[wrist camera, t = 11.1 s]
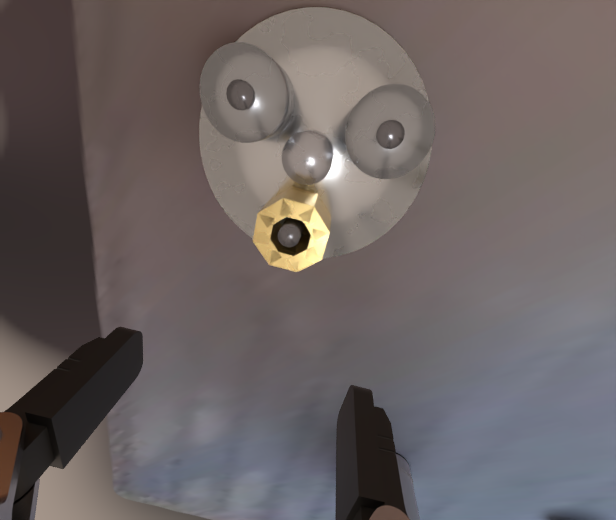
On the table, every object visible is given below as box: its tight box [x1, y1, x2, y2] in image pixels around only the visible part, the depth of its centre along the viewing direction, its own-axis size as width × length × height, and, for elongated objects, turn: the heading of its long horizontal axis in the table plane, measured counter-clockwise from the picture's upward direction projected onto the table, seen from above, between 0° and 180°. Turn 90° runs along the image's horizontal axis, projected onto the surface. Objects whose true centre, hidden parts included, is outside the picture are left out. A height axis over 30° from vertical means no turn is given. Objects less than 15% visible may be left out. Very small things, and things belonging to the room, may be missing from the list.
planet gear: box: [253, 187, 331, 272], centre depth 26 cm, size 6×6×4 cm
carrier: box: [199, 7, 435, 258], centre depth 24 cm, size 20×20×6 cm
